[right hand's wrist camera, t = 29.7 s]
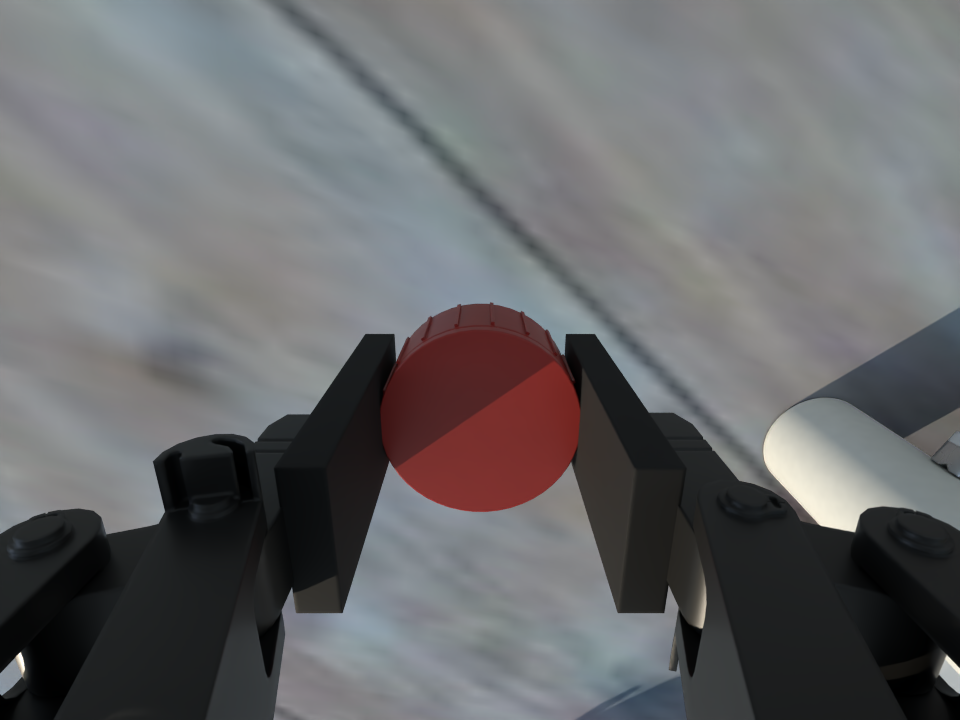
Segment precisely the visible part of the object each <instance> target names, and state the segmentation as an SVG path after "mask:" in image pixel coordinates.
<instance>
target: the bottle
mask: <svg viewBox="0 0 960 720" xmlns="http://www.w3.org/2000/svg"><path fill="white" fill-rule="evenodd" d="M763 454H764V460H765V463H766V465H767V467H768V469H769V471H770V472H771V473H772V474H773V475H774V476H775V478H776V479H777V480H778V481H779V482H780V483H781V484H782V485H783V486H784V487H785V488H786V489H787V490H788V491H789V493H790V494H791V495H792V496H793V497H794V498H795V499H796V500H797V501H798V502H799V503H800V504H801V505H802V506H803V508H804V509H805V510H806V511H807V512H808V513H809V514H810V515H811V516H812V517H813V518H814V519H815V520H816V521H817V523H818V524H819V525H820V526H825V527H830V528H835V529H841V530H846V531H851V532H855V530H856V527H857V523H858V520H859V517H860V514H861V513H863V512H864V511H865V510H867V509H868V508H874V507H880V506H887V507H897V508H907V509H912V510H914V511H915V512H916V511H920V512H923V513H926V514H929V515H931V516H932V517H933V518H936V519H938V520H941V521H943V522H945V523H948V524H950V525H951V526H953V527H954V528H956V529H958V530H959V531H960V478H959V477H958V476H956V475H955V474H953V473H951V472H950V471H948V469H946V468H944V467H943V466H941V465H939V464H938V463H936V462H935V461H933V460H932V459H931V456H929V455H928V454H926V453H925V452H923V451H922V450H920V449H919V448H917V447H916V446H914V445H912V444H911V443H909V442H908V441H906V440H905V439H903V438H902V437H900V436H899V435H897V434H896V433H894V432H893V431H891V430H890V429H888V428H887V427H885V426H884V425H882V424H880V423H879V422H877V421H876V420H874V419H873V418H871V417H870V416H868V415H867V414H865V413H864V412H862V411H861V410H859V409H858V408H856V407H855V406H853V405H851V404H850V403H848V402H846V401H843V400H840V399H835V398H816V399H811V400H807V401H804V402H802V403H799V404H797V405H795V406H793V407H792V408H790V409H789V410H787V411H786V412H785V413H783V414H782V415H781V416H780V417H779V418H778V419H777V420H776V421H775V422H774V424H773V425H772V426H771V428H770V430H769V432H768V434H767V436H766V439H765V442H764V451H763ZM945 660H946V661H947V662H948V663H949V664H950V665H951V666H952V667H953V668H954V669H955V671H956V672H957V673H958V674H959V675H960V668H959V667H958V666H957V665H956V664H955V663H954V662H953V661H952V660H951V659H950V658H949V657H948V656H946V658H945Z"/></svg>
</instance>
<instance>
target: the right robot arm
mask: <svg viewBox="0 0 960 720" xmlns="http://www.w3.org/2000/svg"><path fill="white" fill-rule="evenodd" d="M565 359H566V361H567V363H568V366H569V368H570V370H571V373H572V375H573V377H574V379H575V382H576V383H575V384H574V386H575V389H576V392H577V394H578V397H579V401H580V422H579V436H578V447H577V450H576V452H575V455H574V457H573V459H572V461H571V463H572V466H573V469H574V472H575V476H576V479H577V482H578V485H579V489H580V492H581V495H582V498H583V502H584V505H585V508H586V511H587V515H588V518H589V521H590V524H591V528H592V531H593V534H594V537H595V541H596V544H597V547H598V550H599V553H600V557H601V560H602V563H603V566H604V570H605V573H606V576H607V579H608V583H609V586H610V589H611V592H612V596H613V599H614V602H615V605H616V609H617V612H618V613H664V611H665V605H666V598H667V592H668V585H669V587H670V589H671V591H672V593H673V595H674V598H675V600H676V602H677V604H678V606H679V609H678V615H677V621H676V627H675V633H674V639H673V645H672V651H671V657H670V665H669V670H671V671H676V670H677V664H678V660H679V666H680V673H681V681H682V688H683V695H684V702H685V709H686V717H687V720H960V693H958V692H956V691H955V690H954V689H953V688H952V687H950V686H949V685H948V684H947V683H946V681H945V680H944V679H943V678H942V677H941V676H940V675H939V673H940V670H941V668H942V666H943V663H944V661H945V658H946V656H948V657H949V658H950V659H951V660H952V661H953V662H954V663H955V664H956V665H957V666H958V667H959V668H960V531H959V530H958V529H956V528H954V527H953V526H951V525H950V524H948V523H945V522H943V521H941V520H938V519H936V518H933V517H932V516H931V515H929V514H926V513H923V512H920V511H916V512H915V511H914V510H912V509H907V508H897V507H887V506H880V507H874V508H868V509H867V510H865V511H864V512H863V513H861V514H860V517H859V520H858V523H857V527H856V530H855V532H851V531H846V530H841V529H835V528H830V527H825V526H820V525H814V524H810V523H806V522H802V521H800V519H799V518H798V516H797V514H796V512H795V510H794V509H793V508H792V507H791V506H790V505H789V503H788V502H787V501H786V500H785V499H783V498H781V497H780V496H778V495H777V494H775V493H774V492H772V491H770V490H768V489H765V488H763V487H760V486H757V485H755V484H751V483H747V482H742V481H739V480H738V479H737V478H736V476H735V475H734V474H733V473H732V472H731V470H730V469H729V468H728V467H727V466H726V464H725V463H724V462H723V461H722V460H721V458H720V457H719V456H718V455H717V453H716V452H715V451H712V447H711V446H710V445H709V444H708V443H707V441H706V440H703V437H702V435H701V434H700V433H699V432H698V430H697V429H696V428H695V427H694V426H693V424H691V423H690V422H688V421H686V420H685V419H683V418H681V417H679V416H678V415H676V414H674V413H649V412H648V411H647V409H646V408H645V407H644V405H643V404H642V402H641V401H640V399H639V398H638V396H637V395H636V393H635V392H634V391H633V389H632V388H631V386H630V385H629V383H628V382H627V380H626V379H625V377H624V376H623V374H622V373H621V372H620V370H619V369H618V367H617V366H616V364H615V363H614V361H613V360H612V358H611V357H610V356H609V354H608V353H607V351H606V350H605V348H604V347H603V345H602V344H601V342H600V341H599V340H598V338H597V337H596V335H595V334H566V342H565ZM395 363H396V353H395V336H394V334H365V336H364V337H363V339H362V340H361V342H360V343H359V344H358V346H357V347H356V349H355V350H354V352H353V353H352V355H351V356H350V358H349V359H348V360H347V362H346V363H345V365H344V366H343V368H342V369H341V371H340V372H339V374H338V375H337V376H336V378H335V379H334V381H333V382H332V384H331V385H330V387H329V388H328V390H327V391H326V393H325V394H324V395H323V397H322V398H321V400H320V401H319V403H318V404H317V406H316V407H315V409H314V410H313V411H312V413H311V414H310V415H286V416H284V417H283V418H281V419H279V420H277V421H276V422H274V423H272V424H271V425H269V426H268V427H267V428H266V429H265V431H264V432H263V433H262V434H261V436H260V437H259V438H258V442H255V443H254V442H252V441H251V440H250V439H248V438H247V437H244V436H240V435H235V434H214V435H209V436H203V437H197V438H194V439H191V440H188V441H185V442H182V443H179V444H177V445H175V446H173V447H171V448H170V449H168V450H166V451H164V452H162V453H161V454H160V455H159V456H158V457H157V458H156V459H155V460H154V461H153V464H154V468H155V472H156V476H157V480H158V484H159V488H160V492H161V496H162V500H163V505H164V509H165V513H164V515H163V517H162V518H161V520H160V522H159V524H157V525H153V526H148V527H143V528H138V529H133V530H128V531H122V532H117V533H112V534H107V535H106V532H105V529H104V525H103V522H102V518H101V517H100V516H99V515H98V514H97V513H95V512H94V511H91V510H84V509H70V510H57V511H52V512H48V514H45V513H43V514H40V515H37V516H34V517H32V518H30V519H29V520H27V521H25V522H22V523H20V524H17V525H15V526H13V527H11V528H10V529H8V530H6V531H5V532H3V533H1V534H0V673H1V672H2V671H3V670H4V669H5V668H6V667H7V666H8V665H9V663H10V662H11V661H12V660H13V659H14V658H15V659H16V662H17V664H18V667H19V669H20V672H21V674H22V678H21V679H20V680H19V681H18V682H17V683H16V684H15V685H14V686H13V687H12V688H11V689H10V690H9V691H7V692H6V693H5V694H3V695H0V720H273V718H274V711H275V703H276V696H277V689H278V682H279V675H280V667H281V660H282V653H283V646H284V639H285V629H284V621H283V615H282V608H283V606H284V603H285V601H286V599H287V597H288V595H289V592H290V590H291V588H292V590H293V596H294V602H295V609H296V613H343V610H344V607H345V603H346V600H347V597H348V594H349V590H350V587H351V584H352V581H353V577H354V574H355V571H356V568H357V564H358V561H359V558H360V555H361V551H362V548H363V545H364V542H365V538H366V535H367V532H368V529H369V525H370V522H371V519H372V516H373V512H374V509H375V506H376V503H377V500H378V496H379V493H380V490H381V487H382V483H383V480H384V477H385V474H386V470H387V467H388V464H389V461H390V460H389V458H388V456H387V455H386V452H385V449H384V446H383V442H382V429H381V414H380V406H381V401H382V397H383V394H384V393H383V389H384V386H385V384H386V382H387V380H388V377H389V375H390V373H391V371H392V368H393V366H394V364H395Z"/></svg>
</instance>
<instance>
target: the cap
mask: <svg viewBox="0 0 960 720" xmlns="http://www.w3.org/2000/svg"><path fill="white" fill-rule="evenodd" d="M575 383H576V382H575V379H574V377H573V375H572V373H571V370H570V368H569V366H568V363H567V361H566V359H565V356H564V354H563V355H561V353H560V351H559V349H558V347H557V346H556V344H555V342H554V341H553V339H552V338H551V335H550V333H549V331H548V330H544V329H543V328H542V327H541V326H540V325H539V324H537V323H536V322H535V321H533V320H532V319H531V318H529V317H527V316H525V314H524V312H522V311H521V312H517V311H515V310H513V309H510V308H506V307H503V306H499V305H493V303H491V302H490V304H470V305H463V306H461V304H459V305H457V307H455V308H451V309H449V310H446V311H444V312H441V313H439V314H438V315H436V316H434V317H431V316H430V317H429V318H428V320H427V322H425V323H424V324H423V325H421V326H420V327H419V328H418V329H417V330H416V331H415V332H414V334H413V335H412V336H411V337H410V338H409V337H408V338H407V339H406V341H405V343H404V346H403V348H402V350H401V352H400V355H399V357H398V359H397V361H396V363H395V364H394V366H393V368H392V371H391V373H390V375H389V377H388V380H387V382H386V384H385V386H384V389H383V393H384V394H383V397H382V401H381V406H380V414H381V429H382V442H383V446H384V449H385V452H386V455H387V456H388V458H389V460H390V462H391V464H392V466H393V467H394V468H395V470H396V471H397V473H398V474H399V475H400V476H401V477H402V479H403V480H404V481H405V482H406V483H407V484H408V485H410V486H411V487H412V488H413V489H414V490H416V491H417V492H418V493H420V494H421V495H423V496H425V497H426V498H428V499H430V500H432V501H434V502H436V503H438V504H441V505H444V506H447V507H450V508H454V509H458V510H464V511H472V512H489V511H498V510H503V509H508V508H512V507H514V506H517V505H520V504H523V503H525V502H527V501H529V500H532V499H533V498H535V497H537V496H538V495H540V494H542V493H543V492H544V491H546V490H547V489H548V488H549V487H551V486H552V485H553V484H554V483H555V482H556V481H557V480H558V479H559V478H560V477H561V476H562V474H563V473H564V472H565V470H566V469H567V468H568V466H569V464H570V462H571V461H572V459H573V457H574V455H575V452H576V450H577V447H578V436H579V422H580V401H579V397H578V394H577V392H576V389H575V386H574V384H575Z"/></svg>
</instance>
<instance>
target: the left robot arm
mask: <svg viewBox="0 0 960 720" xmlns="http://www.w3.org/2000/svg"><path fill="white" fill-rule="evenodd" d="M953 443H954V444H953ZM958 446H959V447H958ZM931 459H932V460H933V461H935V462H936V463H938V464H939V465H941V466H943V467H944V468H946V469H948V471H950V472H951V473H953V474H955V475H956V476H958V477H959V478H960V432H959V431H956V432H955V433H954V434H953V435H952V436H951V438H950V439H949V441H948V440H947V441H946V442H945V444H944V445H943V446H942V447H941V448H940V449H939V450H938V451H937V452H936V453H935V454H934V455H933V456H932V457H931ZM939 675H940V676H941V677H942V678H943V679H944V680H945V681H946V683H947V684H948V685H949V686H950V687H952V688H953V689H954V690H955V691H956V692H958V693H960V675H959V674H958V673H957V672H956V671H955V669H954V668H953V667H952V666H951V665H950V664H949V663H948V662H947V661H946V660H945V661H944V663H943V666H942V668H941V670H940V673H939Z"/></svg>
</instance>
